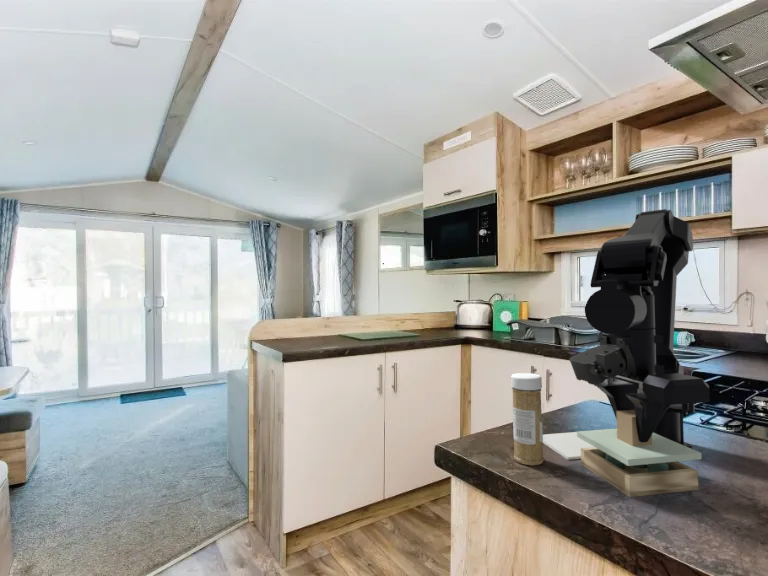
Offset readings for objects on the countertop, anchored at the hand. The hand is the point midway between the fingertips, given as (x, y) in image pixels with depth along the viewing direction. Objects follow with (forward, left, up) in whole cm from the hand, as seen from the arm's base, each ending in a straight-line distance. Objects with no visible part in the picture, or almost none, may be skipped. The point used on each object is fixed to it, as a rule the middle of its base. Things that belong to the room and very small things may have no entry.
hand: (634, 437), depth 58 cm
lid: (0, 0, -1) cm, 1 cm away
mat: (+1, -12, -6) cm, 13 cm away
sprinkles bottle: (+12, -8, -6) cm, 15 cm away
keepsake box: (0, 0, -6) cm, 6 cm away
